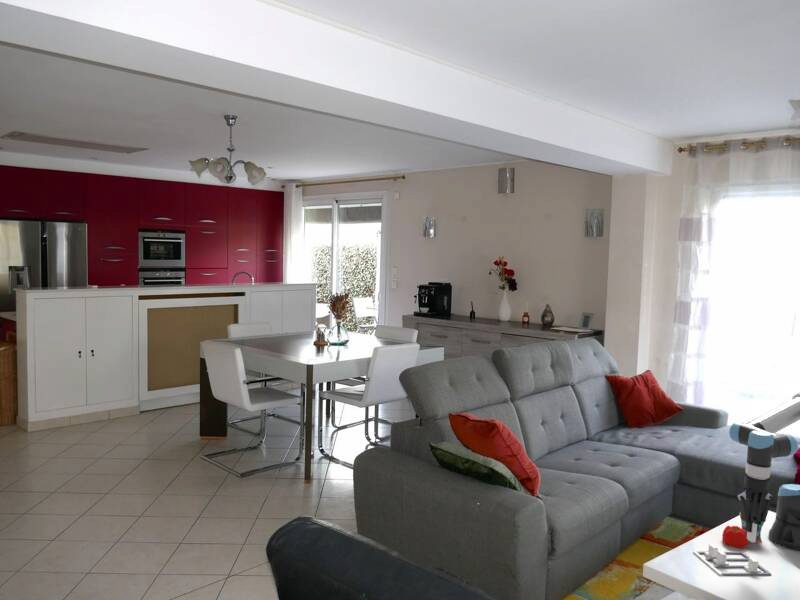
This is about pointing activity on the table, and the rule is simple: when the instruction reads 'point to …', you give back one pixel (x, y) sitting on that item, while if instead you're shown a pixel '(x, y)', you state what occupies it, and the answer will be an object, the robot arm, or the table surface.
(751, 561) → the tab
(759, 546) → the table surface
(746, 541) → the tomato
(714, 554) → the tab
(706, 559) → the switch bank
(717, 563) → the tab
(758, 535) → the mug
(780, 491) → the robot arm
